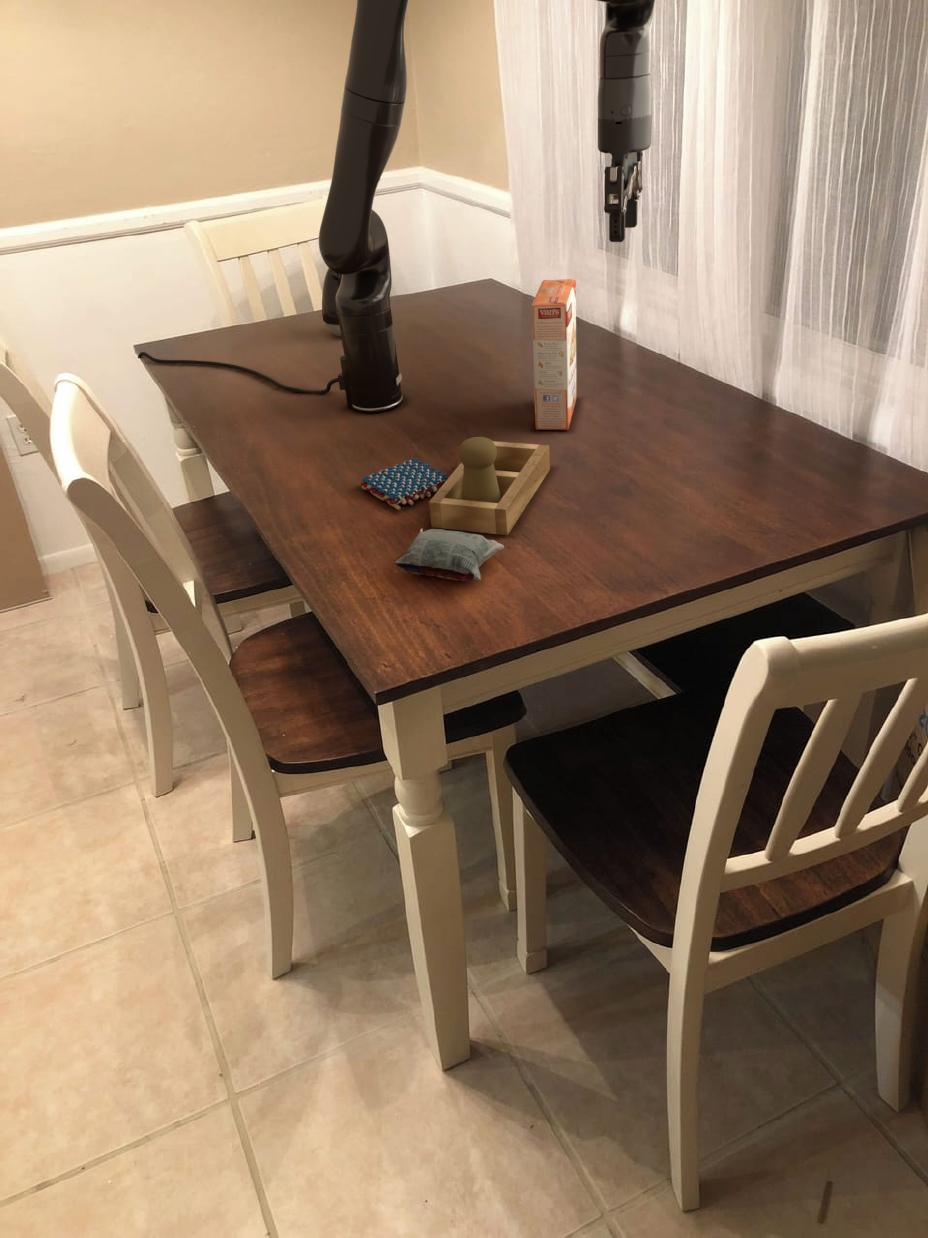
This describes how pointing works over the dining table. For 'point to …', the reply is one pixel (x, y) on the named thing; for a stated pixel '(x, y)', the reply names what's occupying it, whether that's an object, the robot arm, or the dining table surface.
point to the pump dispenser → (331, 301)
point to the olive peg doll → (479, 470)
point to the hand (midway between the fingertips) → (623, 234)
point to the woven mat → (404, 483)
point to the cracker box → (554, 353)
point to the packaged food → (448, 554)
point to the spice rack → (512, 487)
